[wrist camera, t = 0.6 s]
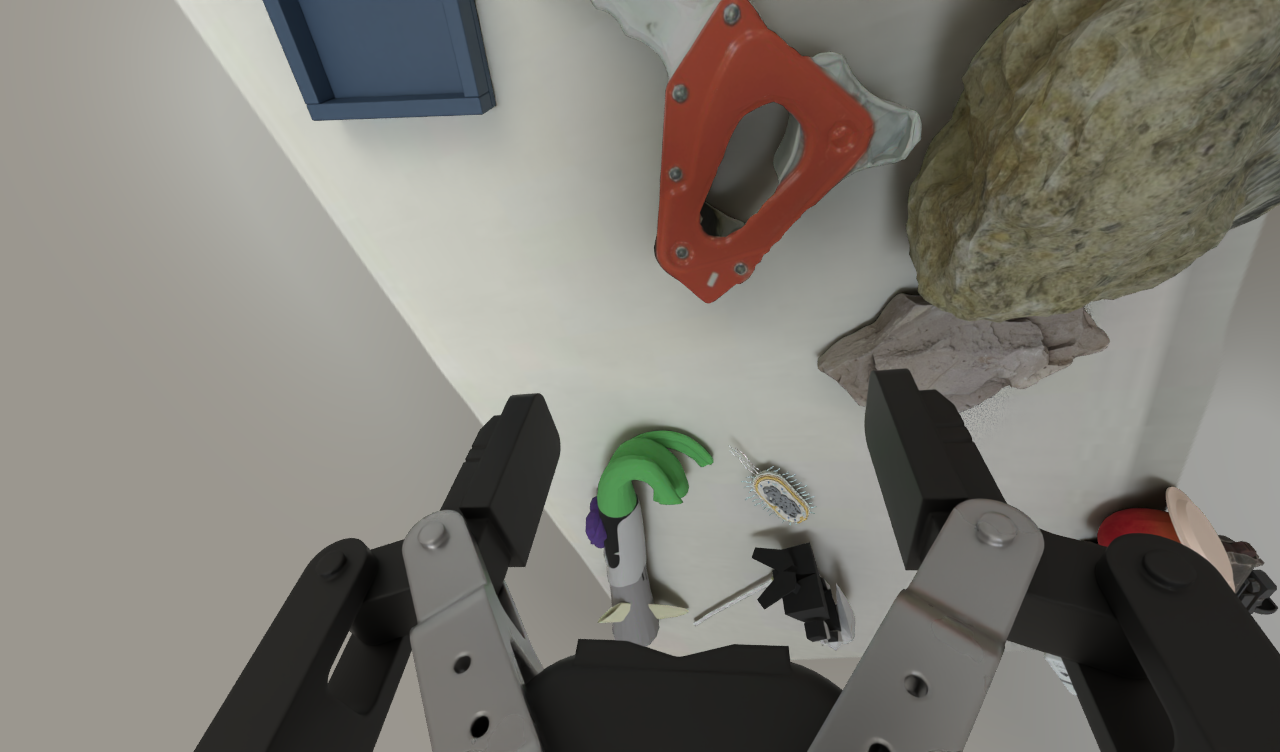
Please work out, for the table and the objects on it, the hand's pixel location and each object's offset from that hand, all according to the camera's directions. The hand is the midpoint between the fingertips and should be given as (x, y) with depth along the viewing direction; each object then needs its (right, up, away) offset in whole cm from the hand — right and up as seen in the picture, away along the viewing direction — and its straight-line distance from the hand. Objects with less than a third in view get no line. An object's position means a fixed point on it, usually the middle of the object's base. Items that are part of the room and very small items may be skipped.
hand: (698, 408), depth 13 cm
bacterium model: (+7, -10, +32) cm, 34 cm away
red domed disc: (+40, -11, +24) cm, 48 cm away
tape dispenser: (+2, +16, +13) cm, 21 cm away
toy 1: (+1, -28, +45) cm, 53 cm away
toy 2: (+5, -18, +34) cm, 39 cm away
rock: (+23, +5, +10) cm, 26 cm away
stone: (+18, +3, +21) cm, 28 cm away
